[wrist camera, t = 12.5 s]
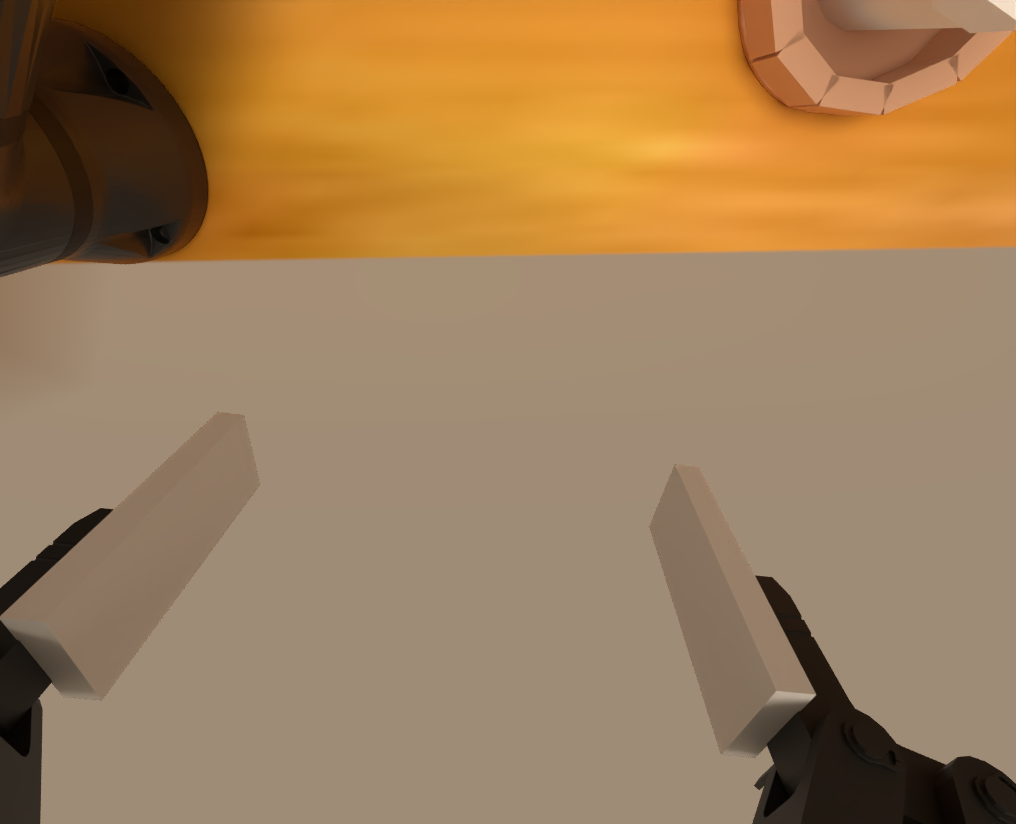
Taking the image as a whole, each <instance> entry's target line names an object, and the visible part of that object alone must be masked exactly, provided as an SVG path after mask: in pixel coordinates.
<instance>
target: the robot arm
mask: <svg viewBox="0 0 1016 824" xmlns="http://www.w3.org/2000/svg"><path fill="white" fill-rule="evenodd" d="M54 4H55V0H0V277H3V276H7V275H10V274H14V273H17V272H20V271H24V270H27V269H31V268H34V267H37V266H41V265H43V264H47V263H50V262H54V261H57V260H71V261H85V262H99V263H113V264H135V263H142V262H147V261H151V260H154V259H157V258H159V257H162V256H165V255H168V254H171V253H173V252H175V251H177V250H179V249H180V248H182V247H183V246H185V245H186V244H187V243H188V242H189V241H190V240H191V239H192V238H193V237H194V236H195V234H196V233H197V231H198V229H199V227H200V225H201V223H202V221H203V218H204V215H205V210H206V205H207V178H206V171H205V166H204V162H203V158H202V155H201V152H200V148H199V146H198V143H197V140H196V138H195V136H194V134H193V131H192V129H191V127H190V125H189V123H188V121H187V120H186V118H185V116H184V114H183V113H182V111H181V109H180V108H179V106H178V105H177V103H176V102H175V100H174V99H173V98H172V96H171V95H170V94H169V92H168V91H167V90H166V88H165V87H164V86H163V85H162V84H161V82H160V81H159V80H158V79H157V78H156V77H155V76H154V75H153V74H152V73H151V72H150V71H149V69H147V68H146V67H145V66H144V65H143V64H142V63H141V62H140V61H139V60H138V59H137V58H135V57H134V56H133V55H132V54H131V53H129V52H128V51H127V50H125V49H124V48H123V47H121V46H120V45H118V44H117V43H115V42H114V41H112V40H110V39H109V38H107V37H105V36H104V35H102V34H100V33H98V32H96V31H94V30H92V29H89V28H87V27H85V26H82V25H79V24H76V23H73V22H69V21H65V20H61V19H56V18H52V13H53V9H54ZM259 486H260V482H259V477H258V473H257V469H256V464H255V460H254V456H253V452H252V447H251V443H250V439H249V434H248V430H247V426H246V421H245V417H244V415H239V414H230V413H220V412H217V414H215V415H214V416H213V417H212V418H211V419H210V420H209V421H208V422H207V423H206V424H205V425H204V426H203V427H201V428H200V429H199V430H198V431H197V432H196V433H195V434H194V435H193V436H192V437H191V438H190V439H189V440H188V441H187V442H186V443H184V444H183V445H182V446H181V447H180V448H179V449H178V450H177V451H176V452H175V453H174V454H173V455H172V456H171V457H169V458H168V459H167V460H166V461H165V462H164V463H163V464H162V465H161V466H160V467H159V468H158V469H157V470H156V471H155V472H153V474H151V475H150V476H149V477H148V478H147V479H146V480H145V481H144V482H143V483H142V484H141V485H140V486H139V487H138V488H136V489H135V490H134V491H133V492H132V493H131V494H130V495H129V496H128V497H127V498H126V499H125V500H124V501H123V502H122V503H120V504H119V505H118V506H117V507H116V508H115V509H114V510H113V509H104V508H100V509H98V510H97V511H95V512H93V513H91V514H89V515H88V516H86V517H84V518H82V519H80V520H79V521H77V522H75V523H74V524H73V525H71V526H70V527H69V528H68V529H67V530H66V531H65V532H63V533H62V534H61V535H60V536H59V537H58V538H57V539H55V540H54V541H53V542H54V543H53V545H49V546H48V547H47V548H45V549H44V550H43V551H42V552H41V553H40V554H39V555H38V556H37V557H36V560H35V561H31V562H29V563H28V564H27V565H26V566H25V567H24V568H23V569H22V570H20V572H18V573H17V574H16V575H15V576H14V577H13V578H11V579H10V580H9V581H8V582H7V583H6V584H5V585H3V586H2V587H1V588H0V824H40V806H41V805H40V804H41V758H42V706H41V703H40V700H39V699H38V698H39V697H40V695H41V694H42V693H43V692H44V691H45V689H46V688H47V687H48V686H49V685H50V684H51V683H52V684H53V685H54V686H55V687H56V689H57V690H58V691H59V692H60V694H61V695H62V696H63V697H68V698H79V699H91V700H102V699H103V698H104V697H105V696H106V694H107V693H108V691H109V690H110V689H111V687H112V686H113V685H114V683H115V682H116V680H117V679H118V678H119V676H120V675H121V674H122V672H123V671H124V670H125V668H126V667H127V665H128V664H129V663H130V661H131V660H132V659H133V657H134V656H135V655H136V653H137V652H138V651H139V649H140V648H141V646H142V645H143V644H144V642H145V641H146V640H147V638H148V637H149V636H150V634H151V633H152V631H153V630H154V629H155V627H156V626H157V625H158V623H159V622H160V621H161V619H162V618H163V616H164V615H165V614H166V612H167V611H168V610H169V608H170V607H171V606H172V604H173V602H174V601H175V600H176V599H177V597H178V596H179V595H180V593H181V592H182V590H183V589H184V588H185V586H186V585H187V584H188V582H189V581H190V580H191V578H192V577H193V575H194V574H195V573H196V571H197V570H198V569H199V567H200V566H201V564H202V563H203V562H204V560H205V559H206V557H207V556H208V555H209V554H210V552H211V551H212V550H213V548H214V547H215V546H216V544H217V543H218V541H219V540H220V538H221V537H222V536H223V535H224V533H225V532H226V531H227V529H228V528H229V526H230V525H231V524H232V522H233V521H234V519H235V518H236V517H237V515H238V514H239V513H240V511H241V510H242V508H243V507H244V506H245V505H246V503H247V502H248V501H249V499H250V498H251V496H252V495H253V494H254V492H255V491H256V490H257V488H258V487H259ZM649 527H650V531H651V534H652V537H653V540H654V543H655V547H656V550H657V553H658V556H659V559H660V562H661V565H662V568H663V572H664V575H665V578H666V582H667V585H668V588H669V591H670V594H671V597H672V601H673V604H674V607H675V610H676V613H677V616H678V620H679V623H680V626H681V629H682V632H683V636H684V638H685V642H686V645H687V648H688V651H689V654H690V657H691V661H692V664H693V667H694V670H695V674H696V677H697V680H698V683H699V686H700V690H701V692H702V696H703V699H704V702H705V705H706V708H707V712H708V715H709V718H710V721H711V725H712V728H713V731H714V734H715V737H716V740H717V744H718V747H719V750H720V753H721V755H728V756H739V757H751V758H756V756H758V754H759V753H760V752H761V751H762V750H763V749H764V748H765V747H766V746H768V749H769V751H770V754H771V757H772V759H773V762H774V764H773V765H772V766H771V767H770V768H769V769H768V770H767V771H766V772H765V773H764V774H763V775H762V776H761V777H760V778H759V779H758V781H757V782H756V784H755V785H754V786H755V787H756V788H757V789H759V790H760V789H761V788H762V787H763V786H764V789H763V792H762V795H761V798H760V801H759V804H758V807H757V811H756V814H755V817H754V820H753V823H752V824H1016V784H1015V783H1014V782H1013V781H1012V780H1011V779H1010V778H1009V777H1007V776H1006V775H1005V774H1004V773H1003V772H1001V771H1000V770H998V769H996V768H995V767H993V766H992V765H990V764H988V763H987V762H985V761H982V760H979V759H977V758H973V757H971V756H964V757H957V758H956V759H954V760H953V761H951V762H950V763H949V764H947V765H945V764H943V763H940V762H938V761H936V760H933V759H930V758H928V757H926V756H924V755H921V754H918V753H916V752H914V751H911V750H909V749H907V748H905V747H902V746H900V745H898V744H896V742H895V741H894V740H893V739H892V738H891V736H890V735H889V734H888V733H887V731H886V730H885V729H884V728H883V727H882V726H880V725H879V724H878V723H877V722H876V721H874V720H873V719H872V718H871V717H870V716H868V715H866V714H864V713H862V712H860V711H859V710H857V709H855V708H854V706H853V705H852V703H851V702H850V700H849V699H848V697H847V695H846V693H845V692H844V690H843V688H842V686H841V685H840V683H839V681H838V679H837V678H836V676H835V674H834V672H833V671H832V669H831V667H830V665H829V664H828V662H827V660H826V658H825V656H824V655H823V653H822V651H821V649H820V648H819V646H818V644H817V642H816V641H815V639H814V637H811V632H810V630H809V628H808V627H807V625H806V623H805V621H804V620H802V619H801V614H800V613H799V611H798V609H797V607H796V605H795V604H794V602H793V600H792V598H791V597H790V595H789V594H788V593H787V592H786V591H785V590H784V589H783V588H782V587H781V586H780V585H779V584H778V583H777V582H776V581H775V580H774V579H773V578H772V577H764V576H755V575H754V573H753V571H752V569H751V567H750V565H749V563H748V561H747V559H746V557H745V555H744V554H743V552H742V550H741V548H740V546H739V544H738V542H737V540H736V538H735V536H734V534H733V532H732V531H731V529H730V526H729V524H728V522H727V521H726V519H725V517H724V515H723V513H722V511H721V509H720V507H719V505H718V503H717V501H716V500H715V497H714V495H713V493H712V492H711V489H710V488H709V486H708V484H707V482H706V480H705V478H704V476H703V474H702V472H701V470H700V468H699V467H694V466H686V465H676V464H675V465H674V467H673V470H672V473H671V475H670V477H669V480H668V482H667V485H666V487H665V489H664V492H663V494H662V497H661V499H660V502H659V504H658V507H657V509H656V511H655V514H654V516H653V519H652V521H651V524H650V526H649Z"/></svg>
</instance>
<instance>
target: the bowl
mask: <svg viewBox="0 0 1016 824" xmlns="http://www.w3.org/2000/svg"><path fill="white" fill-rule="evenodd" d="M738 21H739V31H740V36H741V42H742V46H743V49H744V52H745V55H746V58H747V61H748V63H749V65H750V67H751V69H752V71H753V73H754V75H755V77H756V78H757V79H758V81H759V82H760V84H761V85H762V86H763V87H764V88H765V89H766V90H767V91H768V92H769V93H770V94H771V95H772V96H773V97H774V98H776V99H777V100H779V101H780V102H782V103H783V104H785V105H787V107H788V106H790V108H794V109H797V110H801V111H806V112H811V113H827V114H834V115H841V116H866V115H883V114H886V113H889V112H891V111H893V110H896V109H898V108H900V107H903V106H905V105H908V104H910V103H912V102H915V101H917V100H919V99H922V98H924V97H926V96H929V95H931V94H934V93H936V92H938V91H941V90H943V89H945V88H948V87H950V86H952V85H955V84H957V81H961V80H962V79H963V78H964V77H966V76H967V75H968V74H969V73H970V72H971V71H972V70H973V69H974V68H975V67H976V66H977V65H978V64H979V63H980V62H981V61H982V60H983V59H984V58H986V57H987V56H988V55H989V54H990V53H991V52H992V51H993V50H994V49H995V48H996V47H997V46H998V45H999V44H1000V43H1001V42H1002V41H1003V40H1004V39H1006V38H1007V37H1008V36H1009V35H1010V34H1011V33H1012V32H1013V31H998V32H982V33H969V32H967V31H966V30H964V29H963V28H932V29H893V30H853V31H849V30H843V29H841V28H839V27H838V26H836V25H835V24H833V23H832V22H830V21H829V20H827V19H826V18H825V15H824V13H823V10H822V8H821V5H820V3H819V0H738Z"/></svg>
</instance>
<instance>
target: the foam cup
mask: <svg viewBox="0 0 1016 824" xmlns="http://www.w3.org/2000/svg"><path fill="white" fill-rule="evenodd" d="M819 3H820V5H821V8H822V10H823V13H824V15H825V18H826V19H827V20H829V21H830V22H832V23H833V24H835V25H836V26H838V27H839V28H841V29H843V30H849V31H853V30H893V29H932V28H963V29H964V30H966V31H967V32H969V33H982V32H998V31H1014V30H1016V0H819Z"/></svg>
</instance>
